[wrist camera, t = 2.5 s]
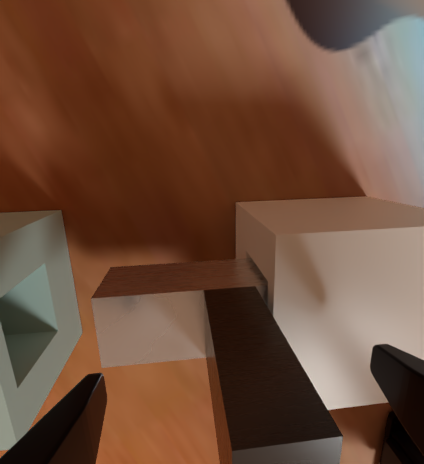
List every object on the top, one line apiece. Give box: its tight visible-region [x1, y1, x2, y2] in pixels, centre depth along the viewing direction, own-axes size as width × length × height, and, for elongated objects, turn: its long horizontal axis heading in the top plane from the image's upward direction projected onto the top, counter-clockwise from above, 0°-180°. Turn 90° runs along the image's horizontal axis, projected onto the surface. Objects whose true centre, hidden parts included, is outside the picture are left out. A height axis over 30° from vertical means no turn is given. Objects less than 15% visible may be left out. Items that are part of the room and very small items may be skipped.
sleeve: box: [236, 196, 424, 410], centre depth 14 cm, size 8×8×7 cm
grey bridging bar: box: [91, 258, 343, 464], centre depth 10 cm, size 15×3×9 cm, turn 91°
